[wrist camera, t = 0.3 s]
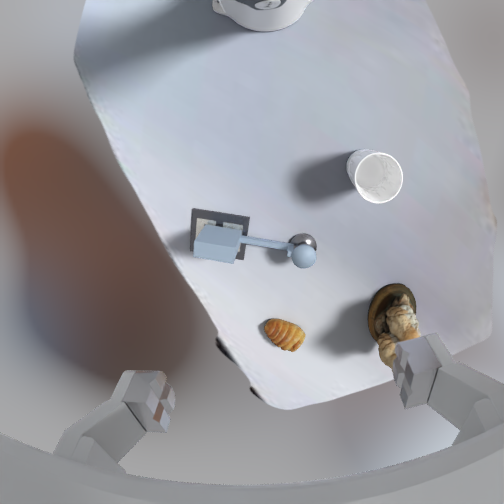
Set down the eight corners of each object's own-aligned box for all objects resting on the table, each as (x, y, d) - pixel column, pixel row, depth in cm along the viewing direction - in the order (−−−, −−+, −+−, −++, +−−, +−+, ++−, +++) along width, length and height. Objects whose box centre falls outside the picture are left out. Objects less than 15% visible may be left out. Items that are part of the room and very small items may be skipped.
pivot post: (287, 235, 58) (287, 243, 55) (314, 232, 57) (316, 239, 54) (291, 259, 60) (291, 268, 57) (317, 256, 60) (319, 265, 56)
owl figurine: (412, 337, 66) (432, 388, 51) (368, 347, 69) (381, 401, 53) (415, 277, 59) (445, 326, 44) (365, 288, 62) (383, 341, 46)
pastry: (258, 329, 69) (256, 340, 66) (275, 310, 66) (274, 321, 63) (290, 347, 71) (290, 358, 67) (308, 330, 68) (309, 340, 64)
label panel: (193, 208, 58) (192, 209, 57) (249, 217, 58) (249, 217, 57) (190, 250, 62) (189, 251, 61) (243, 259, 61) (243, 260, 61)
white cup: (372, 195, 53) (388, 211, 44) (335, 177, 53) (346, 190, 44) (390, 158, 50) (410, 167, 41) (353, 138, 49) (368, 143, 40)
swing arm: (316, 239, 57) (321, 258, 50) (311, 260, 59) (314, 281, 52) (205, 220, 58) (194, 237, 51) (204, 242, 60) (193, 260, 52)
